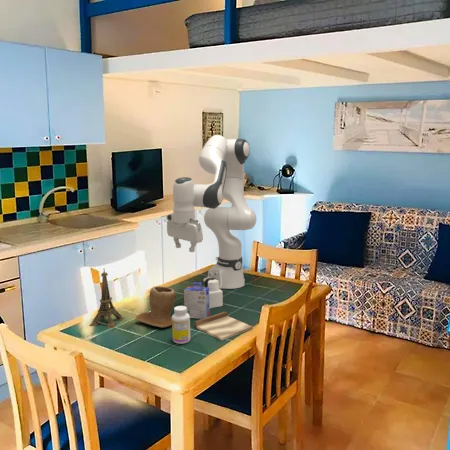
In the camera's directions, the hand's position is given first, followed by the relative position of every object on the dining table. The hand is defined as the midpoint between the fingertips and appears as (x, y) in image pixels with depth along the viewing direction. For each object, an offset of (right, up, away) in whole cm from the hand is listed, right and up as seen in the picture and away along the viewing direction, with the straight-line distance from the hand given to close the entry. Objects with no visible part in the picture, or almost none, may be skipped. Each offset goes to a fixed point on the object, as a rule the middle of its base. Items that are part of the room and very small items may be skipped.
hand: (185, 249), depth 210 cm
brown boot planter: (-10, -30, -6) cm, 32 cm away
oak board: (+16, -30, -12) cm, 36 cm away
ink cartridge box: (+5, -28, 0) cm, 29 cm away
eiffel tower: (-31, -30, -5) cm, 43 cm away
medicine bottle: (+11, -25, +13) cm, 31 cm away
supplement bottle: (+1, -33, -23) cm, 40 cm away
